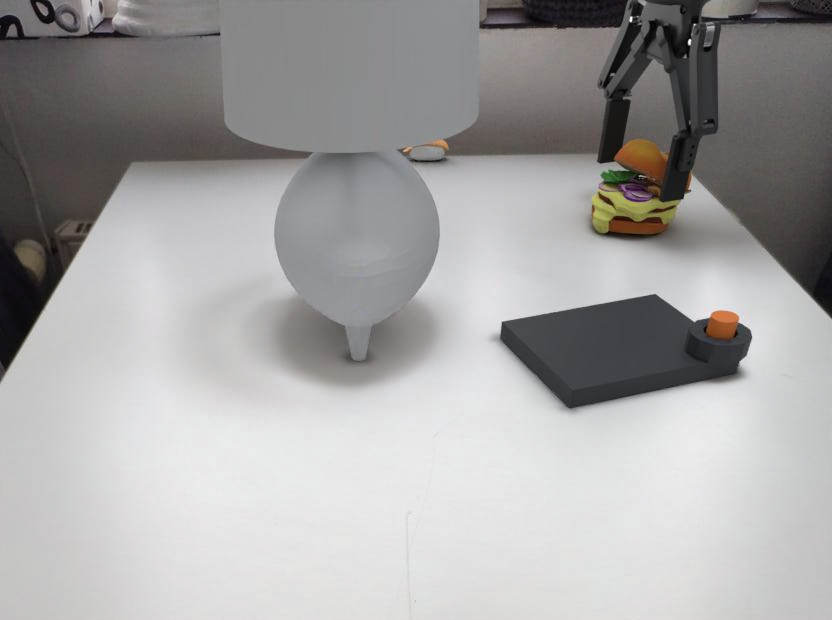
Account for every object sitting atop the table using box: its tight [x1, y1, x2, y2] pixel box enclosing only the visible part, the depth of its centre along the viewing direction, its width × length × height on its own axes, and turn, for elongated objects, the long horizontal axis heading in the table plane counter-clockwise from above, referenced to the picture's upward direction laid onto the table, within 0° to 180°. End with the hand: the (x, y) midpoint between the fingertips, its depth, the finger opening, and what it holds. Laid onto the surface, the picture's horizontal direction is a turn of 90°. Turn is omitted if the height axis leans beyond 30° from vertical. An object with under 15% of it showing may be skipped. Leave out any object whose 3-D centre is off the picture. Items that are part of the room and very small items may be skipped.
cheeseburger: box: [590, 138, 693, 236], centre depth 104 cm, size 10×11×10 cm
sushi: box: [402, 139, 450, 162], centre depth 124 cm, size 3×6×3 cm, turn 88°
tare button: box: [706, 309, 740, 339], centre depth 79 cm, size 2×2×2 cm
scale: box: [499, 293, 753, 409], centre depth 83 cm, size 18×15×4 cm
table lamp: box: [218, 0, 480, 362], centre depth 75 cm, size 23×22×40 cm
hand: (638, 180), depth 104 cm, fingers open, 13 cm apart
